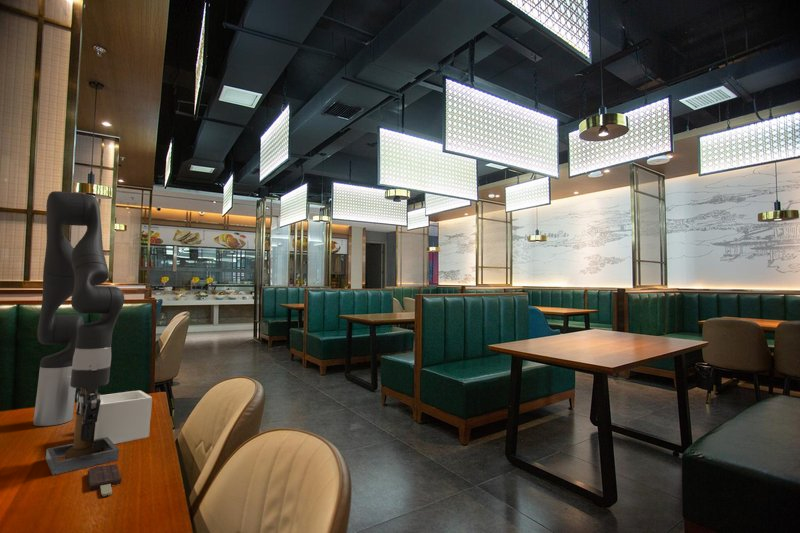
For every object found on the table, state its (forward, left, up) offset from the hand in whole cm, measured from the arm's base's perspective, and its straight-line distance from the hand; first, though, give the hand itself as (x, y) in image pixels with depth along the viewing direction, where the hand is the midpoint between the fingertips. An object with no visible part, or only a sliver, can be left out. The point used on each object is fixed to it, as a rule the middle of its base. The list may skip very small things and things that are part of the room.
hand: (84, 436), depth 94 cm
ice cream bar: (+18, +1, -6) cm, 19 cm away
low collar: (0, 0, -5) cm, 5 cm away
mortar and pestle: (0, 0, -5) cm, 5 cm away
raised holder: (-13, +10, -5) cm, 17 cm away
